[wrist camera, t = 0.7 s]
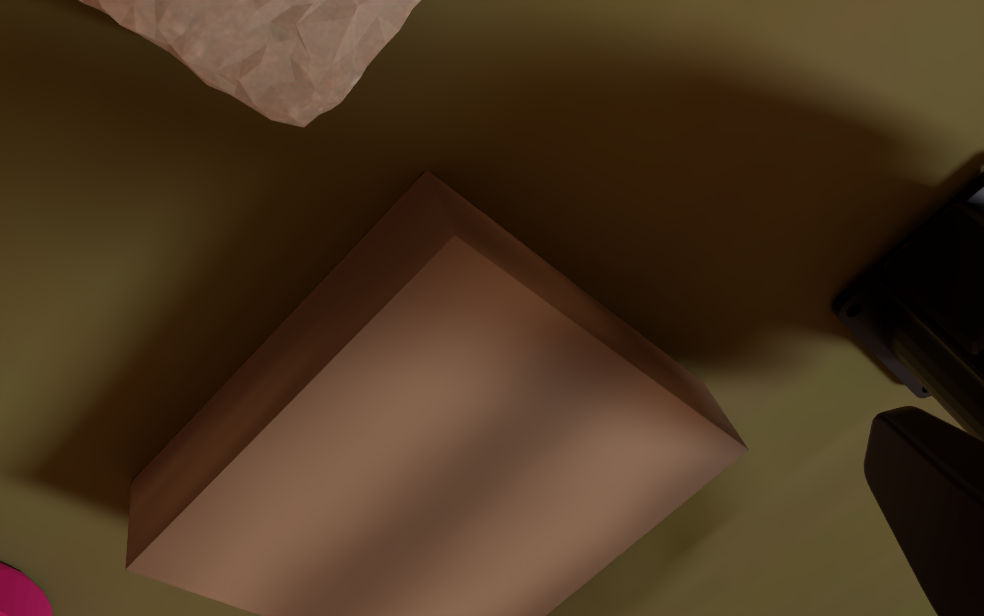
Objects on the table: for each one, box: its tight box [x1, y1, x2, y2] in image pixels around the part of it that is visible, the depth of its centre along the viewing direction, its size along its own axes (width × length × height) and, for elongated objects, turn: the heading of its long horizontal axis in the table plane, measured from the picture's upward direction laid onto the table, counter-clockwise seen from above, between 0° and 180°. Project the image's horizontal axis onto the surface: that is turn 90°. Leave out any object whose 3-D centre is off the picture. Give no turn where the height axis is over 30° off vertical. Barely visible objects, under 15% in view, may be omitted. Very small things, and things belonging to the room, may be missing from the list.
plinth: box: [126, 170, 748, 616], centre depth 26 cm, size 12×12×3 cm
